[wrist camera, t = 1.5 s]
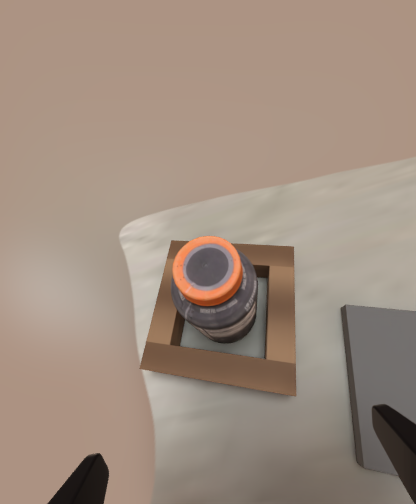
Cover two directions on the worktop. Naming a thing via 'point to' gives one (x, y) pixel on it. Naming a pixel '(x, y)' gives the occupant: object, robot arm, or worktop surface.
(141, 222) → the worktop surface
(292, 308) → the bottle holder
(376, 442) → the rubber mat
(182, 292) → the pill bottle
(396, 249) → the worktop surface
